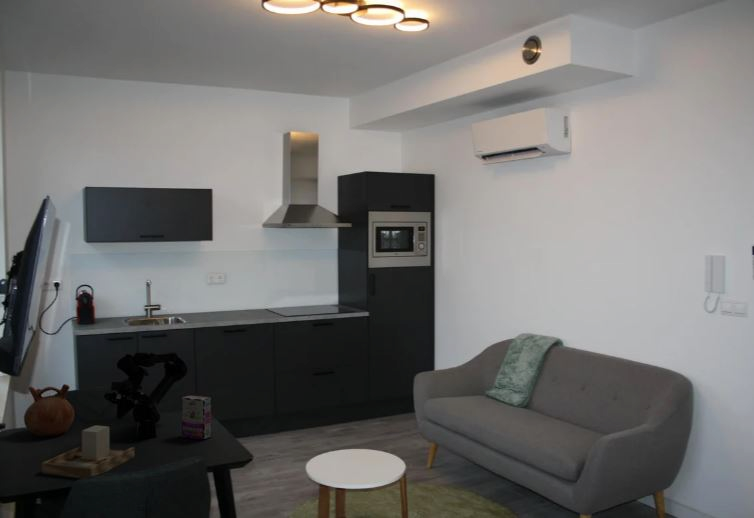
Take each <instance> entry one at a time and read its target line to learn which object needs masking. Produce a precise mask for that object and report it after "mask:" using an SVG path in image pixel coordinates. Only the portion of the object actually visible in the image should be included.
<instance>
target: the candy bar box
mask: <svg viewBox="0 0 754 518" xmlns="http://www.w3.org/2000/svg"><path fill="white" fill-rule="evenodd" d="M182 436H186V437H192V438H198V439H206V438H208V439H210V438H209V437H211V438H212V397H209V396H208V397H207V396H202V395H201V396H199V395H191V394H190V395H185V396H182V397H181V437H182ZM198 439H197V440H198ZM206 440H207V439H206Z"/></svg>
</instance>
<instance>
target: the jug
mask: <svg viewBox="0 0 754 518" xmlns="http://www.w3.org/2000/svg"><path fill="white" fill-rule="evenodd" d="M28 390H29V392H30V394H31V396H32V398H33V403H31V404H30V405H29V406H28V407H27V409H26V411H25V413H24V415H23V421H24V425H25V428H26V429H27V431H29V432H30V433H31V434H32V435H33V436H34V437H36V436H37V437H36V438H43V437H45V438H53V436H54V437H58V436H57V435H59V436H61V434H62V435H64V434H65V433H66V432H67V430H68V429H69V428H70V427H71V425H72V423H73V422H74V419H75V410H74V407H73V406H72V404H71V403H70V402H69V401H68V400H67V399H66V396H67V393H68V392H69V390H70V386H69V385H68V384H63V385H62V387H61V388H60V389H59V388H58V387H54V386H46V387H44V388H42V389H41V388H37V389H36V388H34V387H33V386H28ZM48 391H54V392H56V393H57V395H47V396H42V395H43V394H44V393H46V392H48ZM63 433H64V434H63Z"/></svg>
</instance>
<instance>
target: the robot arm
mask: <svg viewBox="0 0 754 518" xmlns="http://www.w3.org/2000/svg"><path fill="white" fill-rule="evenodd" d="M160 363H161V364H162V363H164V364H163V368H164V376H163V378H162V379H161V380H160V381H159V383H158V384H157V385H156V386H155V388H154V389H153V390H152V391H151V393H150V394H149V395H148V394H146V393H145V392H143V391H139V390H142V389H143V386H141V385H142V384H143V381H144V378H145V377H149V373H148V369H146V368H151V367H153V366H155V365H156V364H160ZM116 367H117V369H118V370H120V371H121V372H122V373H123V375H125V376H127V378H126V379H123V381H112V382H111V383H110V385H111V386H110V391H107V392H105V394H104V395H103V399H104V400H106V402H109V403H110V404H112V405H116V419H117V420H121V419H122V418H124V416H126V415H127V414H128V413H129V412H130V411H131V410H132V417H133V419H134V422H135V423H138V424H137V426H136V428H137V433H136V434H137V437H138V439H139V440H144V439H145V438H147V439H153V438H158V437H157V423H159V421H160V420H161V414H160V413H159V412H158V405H159V404H160V402H161V401H162V400H163V398H164V397H165V396H166V394H167V393H168V392H169V390H170V389H171V388H172V386H174V384H175V383H177V382H179V381H181V380H182V379H183V378H184V377H185V376H186V375H187V373H188V367H187V365H186V362H185V361H184V360H183V359H181V358H180V357H179V356H178V354H177V353H176V352H175V351H165V352H159V353H157V352H156V353H152V352H146V351H145V352H143V351H142V352H141V351H137V352H135V353H134V355H132V354H131V353H126V354H125V356H123V357H121V358H120V359H119V360H118V361H117V363H116ZM114 391H116V392H117V393H116V392H114ZM145 440H146V439H145Z"/></svg>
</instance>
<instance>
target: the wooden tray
mask: <svg viewBox="0 0 754 518" xmlns="http://www.w3.org/2000/svg"><path fill="white" fill-rule="evenodd" d="M109 449H110V454H108V455H106V456H104V457H102V458H100V459H98V460H90V459H82V444H81V445H79V446H77V447H75V448H73V449H71V450H68V451H66V452H63V453H61V454H59V455H56V456H55V457H52V458H50V459H48V460H45V461H43V462H42V463H41V467H42V468H41V469H42V470H41V471H42V474H44V475H50V474H51V475H53V476H59V477H66V478H67V477H69V478H74V479H75V478H76V479H83V478H84V477H89V476H95V475H99V474H101V475H102V474H104V473H106V472H108V471H111V469H114V468H116V467H117V466H120V465H122V464H123V463H125V462H128V461H129V460H131V459H133V458H135V455H136V454H135V449H136V448H135V447H133V446H132V447H129V448H128V449H126V450H121V449H120V450H119V449H111V448H109ZM99 476H100V475H99Z"/></svg>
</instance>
